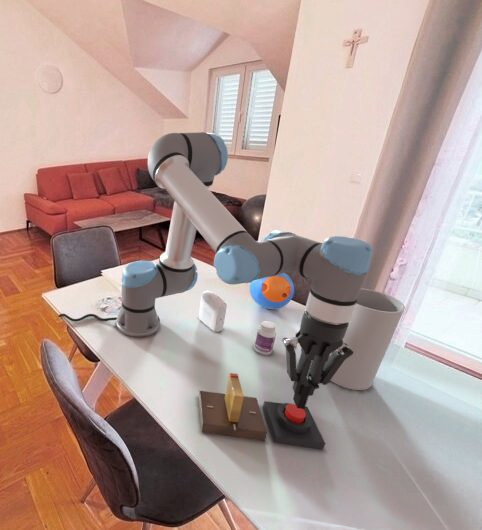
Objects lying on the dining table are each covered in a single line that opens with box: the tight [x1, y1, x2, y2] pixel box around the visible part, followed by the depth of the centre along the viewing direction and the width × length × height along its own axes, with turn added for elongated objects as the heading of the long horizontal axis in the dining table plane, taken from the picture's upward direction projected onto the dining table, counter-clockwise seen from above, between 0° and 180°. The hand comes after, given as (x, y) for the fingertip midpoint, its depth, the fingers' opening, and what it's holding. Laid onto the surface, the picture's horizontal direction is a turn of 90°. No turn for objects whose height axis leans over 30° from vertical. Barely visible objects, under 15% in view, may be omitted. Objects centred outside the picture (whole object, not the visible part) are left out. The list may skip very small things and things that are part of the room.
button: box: [285, 403, 306, 424], centre depth 72 cm, size 4×4×2 cm
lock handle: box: [224, 372, 245, 422], centre depth 74 cm, size 7×2×8 cm, turn 170°
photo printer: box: [198, 290, 228, 333], centre depth 111 cm, size 10×4×12 cm, turn 23°
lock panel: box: [197, 390, 268, 442], centre depth 76 cm, size 14×11×3 cm
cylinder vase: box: [329, 287, 406, 391], centre depth 85 cm, size 12×12×25 cm
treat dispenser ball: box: [249, 273, 295, 310], centre depth 122 cm, size 16×15×15 cm
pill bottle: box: [253, 320, 277, 356], centre depth 98 cm, size 5×5×10 cm
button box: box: [262, 400, 326, 451], centre depth 73 cm, size 10×10×4 cm
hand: (298, 403), depth 71 cm, fingers closed
